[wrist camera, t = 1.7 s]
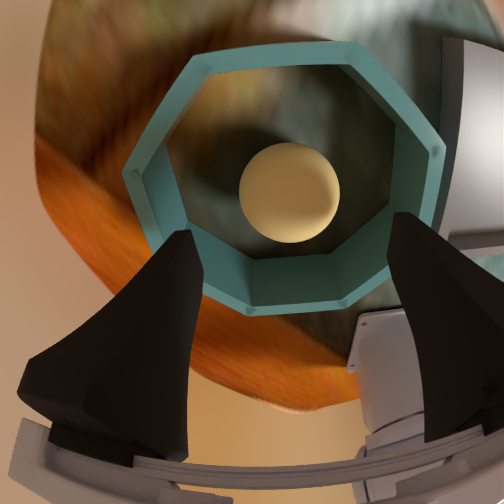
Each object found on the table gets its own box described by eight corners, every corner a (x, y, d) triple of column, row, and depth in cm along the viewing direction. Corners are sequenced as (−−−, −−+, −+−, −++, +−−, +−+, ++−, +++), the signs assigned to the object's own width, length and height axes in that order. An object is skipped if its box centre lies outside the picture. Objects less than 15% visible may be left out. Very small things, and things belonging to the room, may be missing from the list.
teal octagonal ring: (390, 257, 19) (408, 301, 16) (192, 273, 20) (182, 318, 17) (410, 46, 10) (452, 55, 7) (132, 70, 12) (94, 84, 9)
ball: (329, 204, 16) (346, 259, 13) (248, 211, 17) (244, 267, 13) (328, 127, 13) (352, 164, 10) (235, 134, 14) (225, 174, 10)
